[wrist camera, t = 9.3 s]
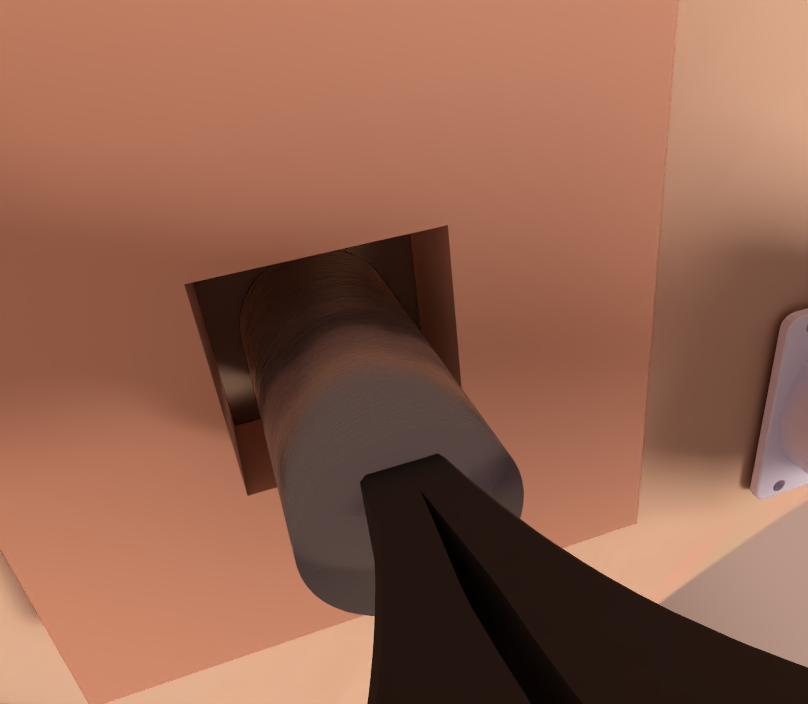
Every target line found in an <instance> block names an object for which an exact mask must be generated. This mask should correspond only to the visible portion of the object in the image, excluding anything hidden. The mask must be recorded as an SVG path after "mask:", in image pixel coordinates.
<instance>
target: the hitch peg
mask: <svg viewBox="0 0 808 704" xmlns="http://www.w3.org/2000/svg"><path fill="white" fill-rule="evenodd" d="M240 333H241V338H242V343H243V347H244V351H245V355H246V359H247V363H248V367H249V372H250V376H251V380H252V384H253V388H254V392H255V396H256V401H257V405H258V409H259V413H260V417H261V421H262V425H263V430H264V434H265V438H266V442H267V446H268V450H269V454H270V459H271V463H272V467H273V471H274V475H275V479H276V484H277V488H278V492H279V496H280V500H281V504H282V508H283V513H284V517H285V521H286V525H287V529H288V533H289V537H290V542H291V546H292V550H293V554H294V558H295V562H296V566H297V569H298V571H299V574H300V576H301V578H302V580H303V581H304V583H305V584H306V586H307V587H308V588H309V589H310V590H311V591H312V593H313V594H314V595H316V596H317V597H318V598H319V599H321V600H322V601H323V602H325V603H327V604H329V605H331V606H333V607H335V608H337V609H340V610H343V611H346V612H350V613H354V614H359V615H370V616H375V562H374V556H373V550H372V545H371V540H370V534H369V529H368V524H367V518H366V513H365V508H364V502H363V497H362V492H361V486H360V481H361V480H362V479H363V478H364V476H365V475H367V474H370V473H374V472H377V471H380V470H384V469H387V468H391V467H394V466H397V465H401V464H404V463H408V462H411V461H414V460H417V459H421V458H424V457H427V456H431V455H434V454H437V453H438V454H440V455H441V456H443V457H445V458H446V459H447V460H448V461H449V462H450V463H452V464H453V465H454V466H455V467H456V468H457V469H458V470H460V471H461V472H462V473H463V474H464V475H465V476H467V477H468V478H469V479H470V480H471V481H473V482H474V483H475V484H476V485H477V486H479V487H480V488H481V489H482V490H484V491H485V492H486V493H487V494H488V495H490V496H491V497H492V498H493V499H495V500H496V501H497V502H499V503H500V504H501V505H502V506H504V507H505V508H506V509H508V510H509V511H510V512H512V513H513V514H514V515H516V516H517V517H518V518H521V514H522V509H523V503H524V489H523V481H522V478H521V474H520V471H519V469H518V467H517V465H516V463H515V461H514V460H513V458H512V457H511V455H510V454H509V453H508V451H507V450H506V449H505V447H504V446H503V444H502V443H501V442H500V440H499V439H498V438H497V436H496V435H495V433H494V432H493V431H492V429H491V428H490V427H489V425H488V424H487V422H486V421H485V420H484V418H483V417H482V416H481V414H480V413H479V411H478V410H477V409H476V407H475V406H474V405H473V403H472V402H471V400H470V399H469V398H468V396H467V395H466V394H465V392H464V391H463V389H462V388H461V387H460V385H459V384H458V383H457V381H456V380H455V378H454V377H453V376H452V374H451V373H450V371H449V370H448V369H447V367H446V366H445V365H444V363H443V362H442V360H441V359H440V358H439V356H438V355H437V354H436V352H435V351H434V349H433V348H432V347H431V345H430V344H429V343H428V341H427V340H426V338H425V337H424V336H423V334H422V333H421V332H420V330H419V329H418V327H417V326H416V325H415V323H414V322H413V321H412V319H411V318H410V316H409V315H408V314H407V312H406V311H405V310H404V308H403V307H402V305H401V304H400V303H399V301H398V300H397V299H396V297H395V296H394V294H393V293H392V292H391V290H390V289H389V288H388V286H387V285H386V283H385V282H384V281H383V279H382V278H381V277H380V275H379V274H378V273H377V271H376V270H375V269H374V268H373V267H372V266H371V265H370V264H368V263H367V262H366V261H364V260H363V259H361V258H359V257H357V256H355V255H354V254H351V253H348V252H345V251H342V250H335V251H331V252H326V253H322V254H317V255H313V256H308V257H304V258H299V259H295V260H290V261H286V262H282V263H277V264H273V265H271V266H269V267H268V268H267V269H265V270H264V271H263V272H262V273H261V274H260V275H259V276H258V278H257V279H256V280H255V281H254V283H253V284H252V285H251V287H250V289H249V291H248V292H247V294H246V297H245V299H244V302H243V305H242V309H241V313H240Z"/></svg>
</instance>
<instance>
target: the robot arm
mask: <svg viewBox="0 0 808 704" xmlns="http://www.w3.org/2000/svg"><path fill="white" fill-rule="evenodd" d="M806 484H808V308H806V309H803V310H799V311H796V312H793V313H791V314H789V315H788V316H787V317H786V318H785V319H784V320H783V322H782V323H781V326H780V330H779V335H778V341H777V346H776V352H775V357H774V362H773V368H772V373H771V379H770V384H769V389H768V395H767V400H766V405H765V411H764V416H763V422H762V427H761V432H760V438H759V443H758V448H757V454H756V459H755V465H754V470H753V475H752V481H751V486H750V491H751V492H752V494H754V495H755V496H756V497H757V498H759V499H765V498H768V497H771V496H774V495H777V494H780V493H783V492H786V491H788V490H791V489H794V488H797V487H800V486H803V485H806ZM360 486H361V492H362V497H363V502H364V508H365V513H366V518H367V524H368V529H369V534H370V540H371V545H372V550H373V556H374V562H375V626H374V643H373V657H372V668H371V678H370V688H369V697H368V704H808V668H807V667H805V666H802V665H799V664H796V663H794V662H791V661H788V660H786V659H783V658H780V657H777V656H775V655H773V654H770V653H767V652H765V651H762V650H760V649H757V648H754V647H752V646H749V645H747V644H744V643H742V642H740V641H737V640H735V639H732V638H730V637H728V636H726V635H724V634H721V633H719V632H717V631H715V630H712V629H710V628H708V627H706V626H704V625H701V624H699V623H697V622H695V621H692V620H690V619H688V618H686V617H683V616H681V615H679V614H677V613H674V612H672V611H670V610H669V609H667V608H665V607H663V606H661V605H659V604H657V603H655V602H653V601H651V600H649V599H647V598H645V597H643V596H641V595H639V594H637V593H636V592H634V591H632V590H630V589H628V588H627V587H625V586H623V585H621V584H619V583H618V582H616V581H614V580H612V579H611V578H609V577H607V576H605V575H604V574H602V573H600V572H599V571H597V570H595V569H594V568H592V567H591V566H589V565H587V564H586V563H584V562H582V561H581V560H579V559H578V558H576V557H575V556H573V555H572V554H570V553H569V552H567V551H565V550H564V549H562V548H561V547H559V546H558V545H556V544H555V543H553V542H552V541H550V540H549V539H548V538H546V537H545V536H543V535H542V534H540V533H539V532H537V531H536V530H535V529H533V528H532V527H531V526H529V525H528V524H527V523H525V522H524V521H522V520H521V519H520V518H518V517H517V516H516V515H514V514H513V513H512V512H510V511H509V510H508V509H506V508H505V507H504V506H502V505H501V504H500V503H499V502H497V501H496V500H495V499H493V498H492V497H491V496H490V495H488V494H487V493H486V492H485V491H484V490H482V489H481V488H480V487H479V486H477V485H476V484H475V483H474V482H473V481H471V480H470V479H469V478H468V477H467V476H465V475H464V474H463V473H462V472H461V471H460V470H458V469H457V468H456V467H455V466H454V465H453V464H452V463H450V462H449V461H448V460H447V459H446V458H445V457H443V456H441V455H440V454H438V453H437V454H434V455H431V456H427V457H424V458H421V459H417V460H414V461H411V462H408V463H404V464H401V465H397V466H394V467H391V468H387V469H384V470H380V471H377V472H374V473H370V474H367V475H365V476H364V478H363V479H362V480H361V481H360Z"/></svg>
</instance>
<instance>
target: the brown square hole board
mask: <svg viewBox="0 0 808 704" xmlns="http://www.w3.org/2000/svg"><path fill="white" fill-rule="evenodd" d="M677 12H678V0H0V549H1V551H2V553H3V554H4V556H5V558H6V560H7V561H8V563H9V565H10V567H11V568H12V570H13V572H14V574H15V575H16V577H17V579H18V581H19V582H20V584H21V586H22V588H23V589H24V591H25V593H26V595H27V597H28V598H29V600H30V602H31V604H32V605H33V607H34V609H35V611H36V612H37V614H38V616H39V618H40V619H41V621H42V623H43V625H44V626H45V628H46V630H47V632H48V633H49V635H50V637H51V639H52V640H53V642H54V644H55V646H56V647H57V649H58V651H59V653H60V654H61V656H62V658H63V660H64V661H65V663H66V665H67V667H68V668H69V670H70V672H71V674H72V675H73V677H74V679H75V681H76V682H77V684H78V686H79V688H80V689H81V691H82V693H83V695H84V697H85V698H86V700H87V702H88V704H104V703H107V702H110V701H113V700H116V699H119V698H122V697H125V696H127V695H130V694H133V693H136V692H139V691H142V690H145V689H148V688H151V687H154V686H157V685H160V684H163V683H166V682H169V681H172V680H175V679H178V678H181V677H184V676H186V675H189V674H192V673H195V672H198V671H201V670H204V669H207V668H210V667H213V666H216V665H219V664H222V663H225V662H228V661H231V660H234V659H237V658H240V657H243V656H245V655H248V654H251V653H254V652H257V651H260V650H263V649H266V648H269V647H272V646H275V645H278V644H281V643H284V642H287V641H290V640H293V639H296V638H299V637H301V636H304V635H307V634H310V633H313V632H316V631H319V630H322V629H325V628H328V627H331V626H334V625H337V624H340V623H343V622H346V621H349V620H352V619H355V618H358V617H360V616H363V615H359V614H354V613H350V612H346V611H343V610H340V609H337V608H335V607H333V606H331V605H329V604H327V603H325V602H323V601H322V600H321V599H319V598H318V597H317V596H316V595H314V594H313V593H312V591H311V590H310V589H309V588H308V587H307V586H306V584H305V583H304V581H303V580H302V578H301V576H300V574H299V571H298V569H297V566H296V562H295V558H294V554H293V550H292V546H291V542H290V537H289V533H288V529H287V525H286V521H285V517H284V513H283V508H282V504H281V500H280V496H279V492H278V488H277V484H276V479H275V475H274V471H273V467H272V463H271V459H270V454H269V450H268V446H267V442H266V438H265V434H264V430H263V425H262V421H261V419H259V420H255V421H251V422H248V423H244V424H240V425H237V426H235V425H234V422H233V418H232V415H231V411H230V408H229V405H228V401H227V398H226V394H225V391H224V388H223V384H222V381H221V377H220V374H219V370H218V367H217V364H216V360H215V357H214V353H213V350H212V347H211V343H210V340H209V336H208V333H207V330H206V326H205V323H204V319H203V316H202V312H201V309H200V306H199V302H198V299H197V295H196V292H195V289H194V285H193V282H197V281H201V280H206V279H210V278H215V277H219V276H224V275H228V274H233V273H237V272H241V271H246V270H250V269H255V268H259V267H264V266H268V265H273V264H277V263H282V262H286V261H290V260H295V259H299V258H304V257H308V256H313V255H317V254H322V253H326V252H331V251H335V250H339V249H344V248H348V247H353V246H357V245H362V244H366V243H371V242H375V241H379V240H384V239H388V238H393V237H397V236H402V235H406V234H410V238H411V247H412V256H413V264H414V273H415V282H416V291H417V300H418V308H419V317H420V326H421V333H422V334H423V336H424V337H425V338H426V340H427V341H428V343H429V344H430V345H431V347H432V348H433V349H434V351H435V352H436V354H437V355H438V356H439V358H440V359H441V360H442V362H443V363H444V365H445V366H446V367H447V369H448V370H449V371H450V373H451V374H452V376H453V377H454V378H455V380H456V381H457V383H458V384H459V385H460V387H461V388H462V389H463V391H464V392H465V394H466V395H467V396H468V398H469V399H470V400H471V402H472V403H473V405H474V406H475V407H476V409H477V410H478V411H479V413H480V414H481V416H482V417H483V418H484V420H485V421H486V422H487V424H488V425H489V427H490V428H491V429H492V431H493V432H494V433H495V435H496V436H497V438H498V439H499V440H500V442H501V443H502V444H503V446H504V447H505V449H506V450H507V451H508V453H509V454H510V455H511V457H512V458H513V460H514V461H515V463H516V465H517V467H518V469H519V471H520V474H521V478H522V481H523V489H524V503H523V509H522V514H521V518H520V519H521V520H522V521H524V522H525V523H527V524H528V525H529V526H531V527H532V528H533V529H535V530H536V531H537V532H539V533H540V534H542V535H543V536H545V537H546V538H548V539H549V540H550V541H552V542H553V543H555V544H556V545H558V546H559V547H561V548H564V547H567V546H570V545H573V544H576V543H579V542H582V541H585V540H588V539H591V538H593V537H596V536H599V535H602V534H605V533H608V532H611V531H614V530H617V529H620V528H623V527H626V526H629V525H632V524H635V523H637V516H638V503H639V491H640V478H641V465H642V453H643V440H644V428H645V415H646V403H647V390H648V377H649V365H650V352H651V340H652V327H653V314H654V302H655V289H656V277H657V264H658V252H659V239H660V226H661V214H662V201H663V189H664V176H665V163H666V151H667V138H668V126H669V113H670V101H671V88H672V75H673V63H674V50H675V38H676V25H677Z"/></svg>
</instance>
